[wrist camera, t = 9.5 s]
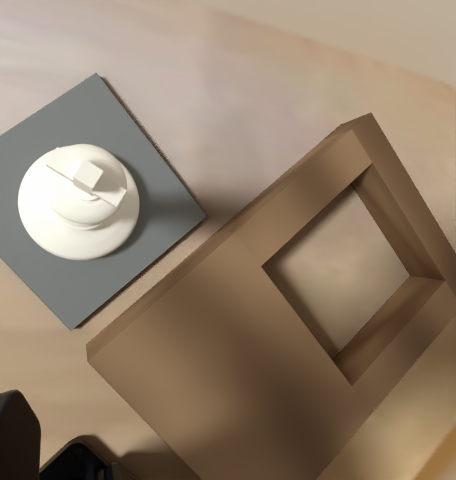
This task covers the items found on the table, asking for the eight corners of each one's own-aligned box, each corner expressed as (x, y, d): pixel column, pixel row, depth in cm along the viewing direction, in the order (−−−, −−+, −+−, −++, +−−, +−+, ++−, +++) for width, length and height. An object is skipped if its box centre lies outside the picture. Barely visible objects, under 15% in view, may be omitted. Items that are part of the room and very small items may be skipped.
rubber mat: (70, 329, 18) (70, 330, 18) (-68, 184, 16) (-72, 182, 16) (204, 216, 20) (206, 216, 20) (96, 75, 18) (96, 72, 18)
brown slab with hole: (241, 507, 21) (262, 542, 19) (85, 344, 18) (87, 361, 16) (440, 283, 26) (477, 289, 23) (340, 124, 23) (371, 112, 20)
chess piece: (60, 123, 17) (41, -3, 8) (159, 187, 19) (241, 145, 9) (-7, 222, 16) (-116, 212, 7) (102, 280, 18) (131, 335, 9)
